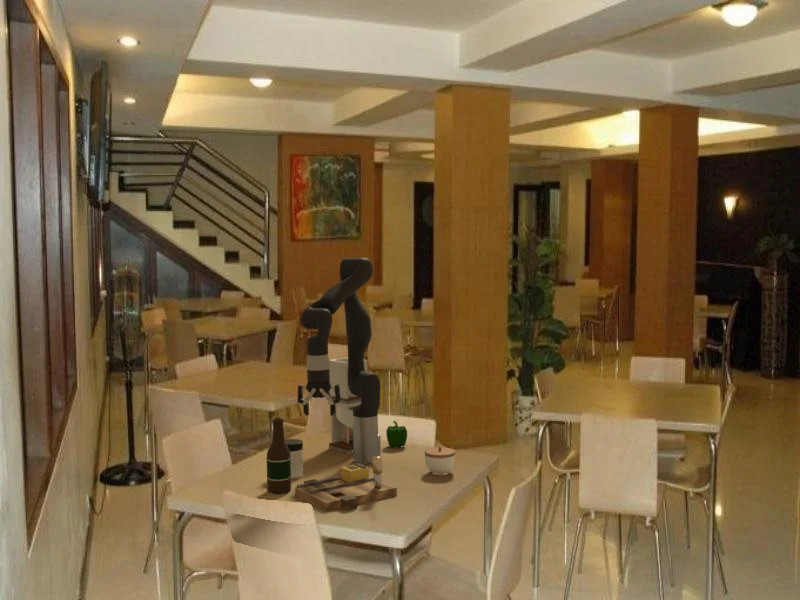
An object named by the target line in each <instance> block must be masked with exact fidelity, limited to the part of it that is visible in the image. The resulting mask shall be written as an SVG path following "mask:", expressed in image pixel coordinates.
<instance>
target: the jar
mask: <svg viewBox="0 0 800 600" xmlns="http://www.w3.org/2000/svg"><path fill="white" fill-rule="evenodd" d="M284 440H285V443H286V445H287V446H288V448H289V450H290V455H291V480H292V479H293V480H294V479H297V478H302V477H303V475H304V450H303V449H304V448H303V447H304V444H303V440H302V439H299V438H288V439H287V438H285V439H284Z"/></svg>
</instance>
